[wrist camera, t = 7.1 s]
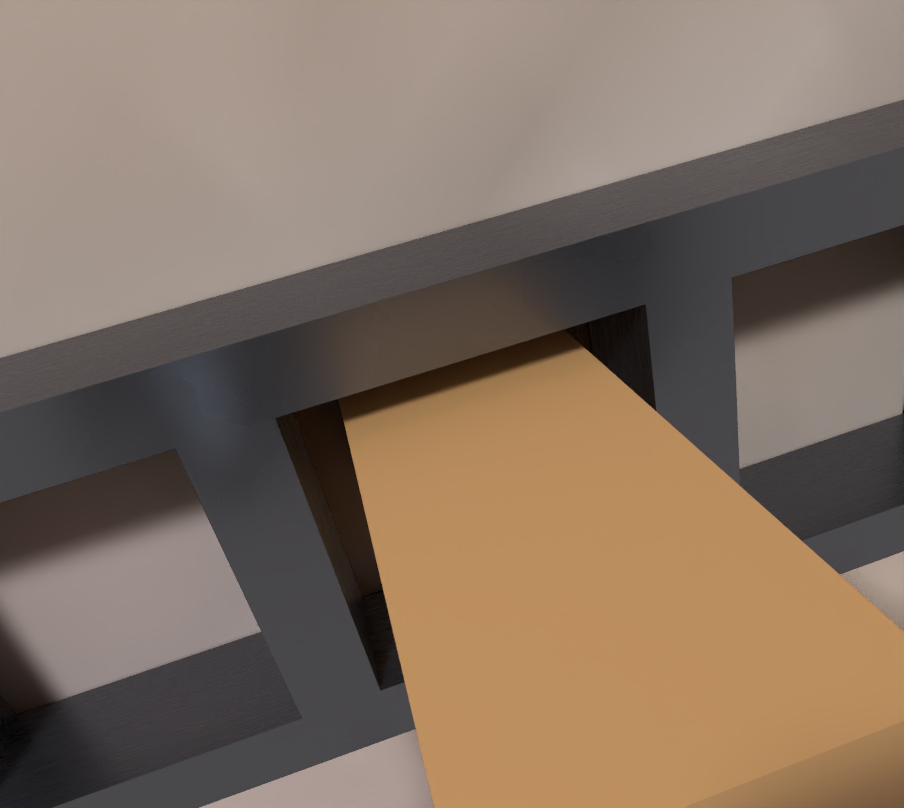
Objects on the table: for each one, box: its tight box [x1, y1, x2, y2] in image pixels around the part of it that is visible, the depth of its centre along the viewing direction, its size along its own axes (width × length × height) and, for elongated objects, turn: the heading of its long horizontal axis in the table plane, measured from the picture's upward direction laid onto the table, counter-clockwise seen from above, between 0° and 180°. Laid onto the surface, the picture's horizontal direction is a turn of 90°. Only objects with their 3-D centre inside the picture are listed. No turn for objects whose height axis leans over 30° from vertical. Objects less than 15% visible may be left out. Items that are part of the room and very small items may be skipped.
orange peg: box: [339, 329, 904, 808], centre depth 10 cm, size 4×4×9 cm
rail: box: [0, 100, 904, 808], centre depth 13 cm, size 23×8×2 cm, turn 103°
